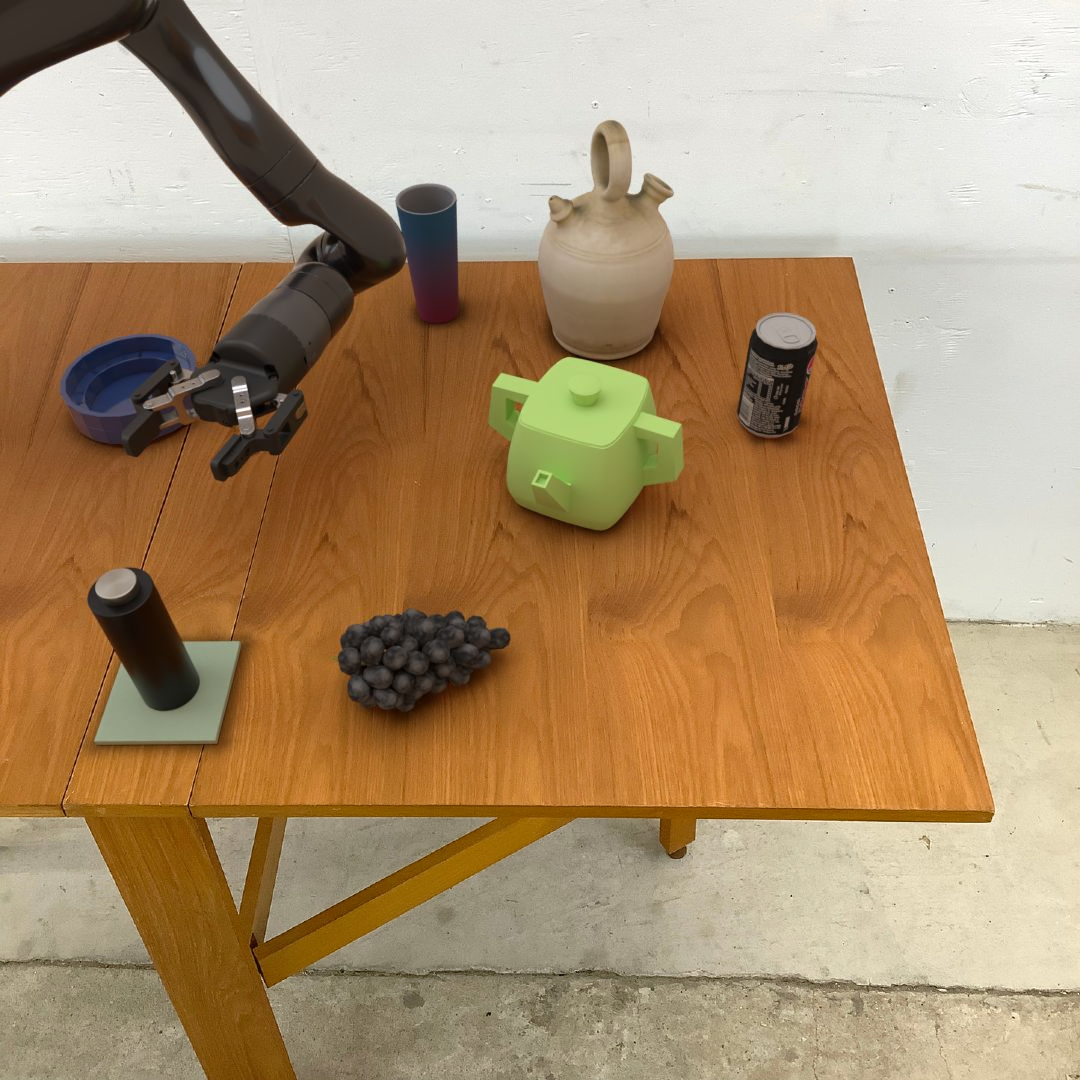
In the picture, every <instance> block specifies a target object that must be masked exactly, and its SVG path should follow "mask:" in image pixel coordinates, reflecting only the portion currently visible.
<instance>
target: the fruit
mask: <svg viewBox="0 0 1080 1080" xmlns="http://www.w3.org/2000/svg"><path fill="white" fill-rule="evenodd" d="M511 641H512V638H511V633H510V632H509V631H508V629H506V627H502V626H501V627H499V626H498V627H495V628H490V629H489V628H488V627H487V621H486V620H485V619H484V618H483V616H481V615H475V614H473V615H471V616H469V617H468V618H467V619H465V616H464V614H463V613H462V612H461V611H459V610H452V611H450V612H448V613H447V614H445V615H444V616H443V615H442V614H439V613H437V614H436V613H435V614H430V615H429V616H428V615H427V614H426V613H425V612H423V611H421V610H419V609H417V608H416V609H415V608H407V609H405V610H404V611H403V612H402V613H401V614H400V613H396V614H393V615H392V614H389V613H388V614H387V613H386V614H383V615H381V614H380V615H373V616H372V618H370V619H369V620H367V621H364V622H363V623H362V624H361V623H354V624H350V625H349V626H348V627H347V628H346V630H345V631H344V632H343V634H342V635H341V636H340V639H339V644H340V648H341V651H339V653H338V655H337V656H335V655H330V660H333V661H335V662H337V663H338V667H339V670H340V671H341V673H343V674H345V675H347V676H351V677H350V678H349V679H348V682H347V683H346V692H347V695H348V697H349V698H350V700H351V701H352V702H355V703H359V706H360V707H362V708H364V709H371V708H373V707H376V706H377V705H378V706H379V708H380V709H382V710H384V711H385V710H386V711H388V710H391V709H392V710H393V709H397V710H398V711H400V712H401V713H408V712H409V711H411V710H412V709H413V708H414V707H415V705H416V703H417V701H418V700H419V699H420V698H422V696H424V695H427V694H428V693H429V692H430V693H434V694H435V693H436V694H437V693H441V692H443V691H444V690H445V689H446V688H447V685H448V681H449V682H450V684H452V685H453V686H457V687H459V686H463V685H466V684H467V683H468V682H469V681H470V678H471V673H473V672H474V671H475V670H477V671H478V670H479V671H481V670H484V669H486V668H488V667H489V666H490V665H491V659H492V658H491V652H492V651H497V650H504V649H505V648H507V647H508V646H510V644H511Z"/></svg>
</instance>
